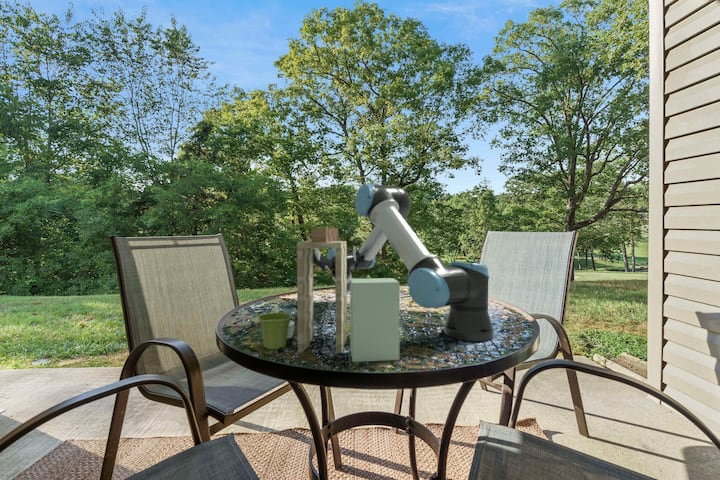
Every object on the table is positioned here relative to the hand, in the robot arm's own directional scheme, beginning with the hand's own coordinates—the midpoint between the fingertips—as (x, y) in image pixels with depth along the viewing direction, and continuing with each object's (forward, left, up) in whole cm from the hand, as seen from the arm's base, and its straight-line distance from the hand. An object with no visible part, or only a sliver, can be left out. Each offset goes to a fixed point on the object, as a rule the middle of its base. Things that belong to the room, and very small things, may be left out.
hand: (335, 249), depth 126 cm
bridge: (-6, +22, -27) cm, 35 cm away
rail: (-5, +18, +3) cm, 18 cm away
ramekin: (+11, +19, -27) cm, 35 cm away
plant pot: (+7, +28, -27) cm, 40 cm away
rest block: (-22, +26, -27) cm, 44 cm away
